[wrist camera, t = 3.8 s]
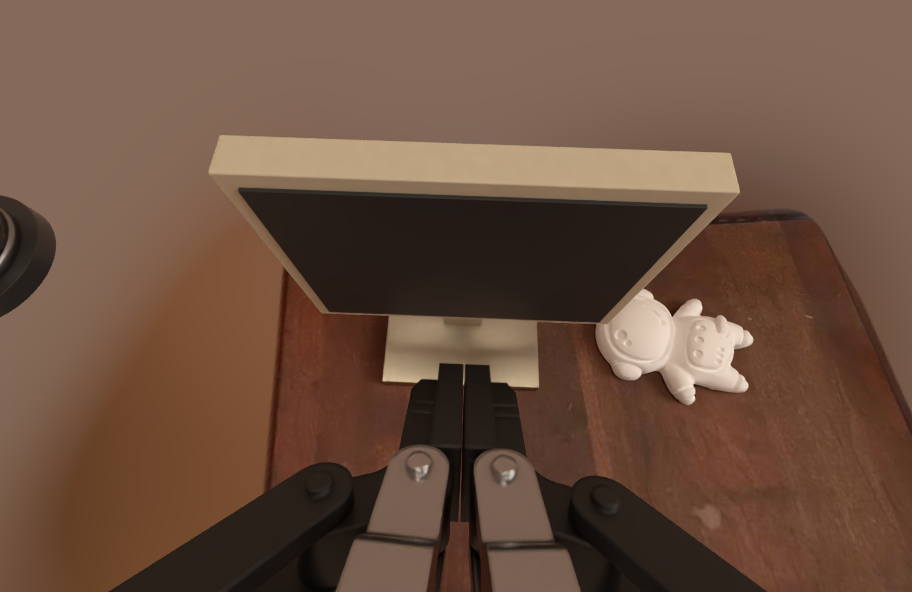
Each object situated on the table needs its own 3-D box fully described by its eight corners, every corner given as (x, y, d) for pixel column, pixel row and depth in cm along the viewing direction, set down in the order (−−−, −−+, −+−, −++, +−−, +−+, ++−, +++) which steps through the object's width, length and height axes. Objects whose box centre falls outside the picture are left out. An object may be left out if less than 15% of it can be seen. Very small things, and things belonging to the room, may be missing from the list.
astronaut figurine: (732, 426, 33) (758, 421, 30) (581, 364, 35) (592, 354, 32) (751, 326, 36) (776, 313, 34) (611, 274, 38) (624, 257, 35)
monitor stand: (536, 391, 34) (577, 349, 23) (383, 384, 34) (349, 340, 23) (533, 286, 38) (567, 204, 26) (394, 280, 38) (369, 197, 26)
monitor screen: (607, 327, 26) (742, 196, 14) (320, 316, 26) (205, 177, 14) (604, 299, 26) (731, 152, 14) (325, 288, 27) (218, 134, 15)
